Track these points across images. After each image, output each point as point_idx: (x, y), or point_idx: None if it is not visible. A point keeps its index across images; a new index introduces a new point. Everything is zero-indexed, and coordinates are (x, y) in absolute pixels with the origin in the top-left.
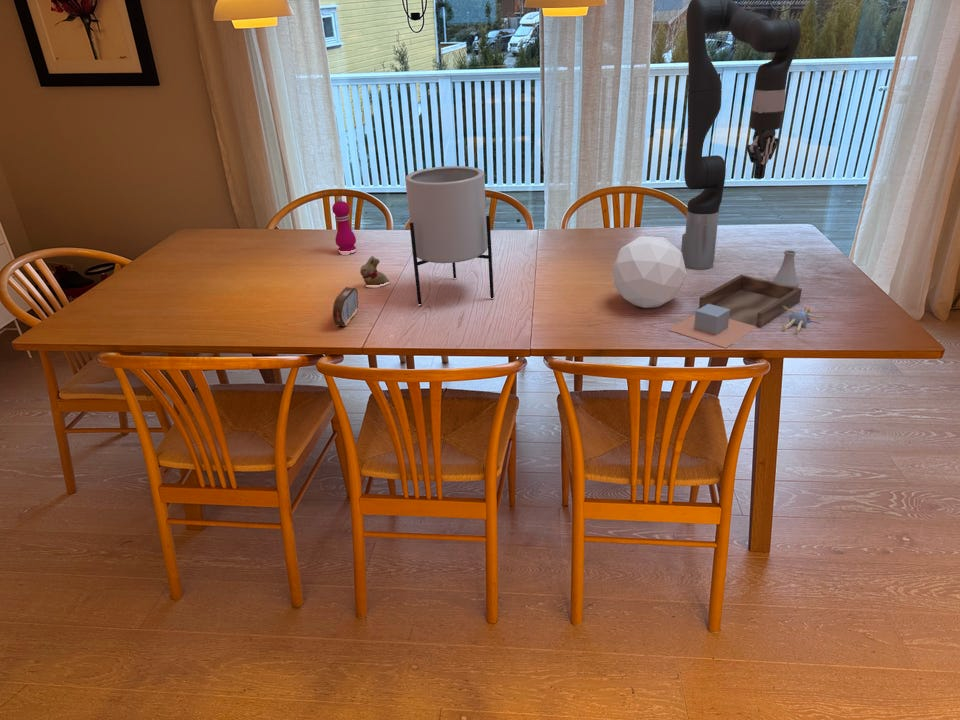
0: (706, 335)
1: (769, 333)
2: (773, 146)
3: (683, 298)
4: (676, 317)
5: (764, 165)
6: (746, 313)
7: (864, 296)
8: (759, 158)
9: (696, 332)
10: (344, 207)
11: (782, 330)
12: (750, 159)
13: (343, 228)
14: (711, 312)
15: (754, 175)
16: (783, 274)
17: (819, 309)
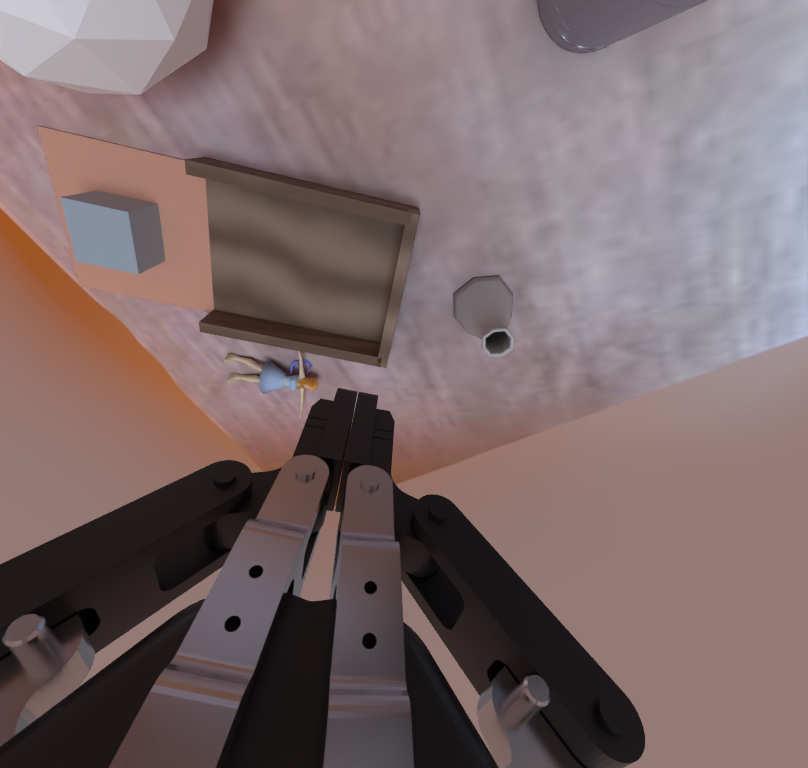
0: None
1: (206, 337)
2: (472, 672)
3: (257, 70)
4: (124, 112)
5: (333, 503)
6: (263, 274)
7: (470, 435)
8: (179, 561)
9: None
10: None
11: (229, 355)
12: (170, 486)
13: None
14: (86, 239)
15: (316, 404)
16: (467, 314)
17: (371, 387)
